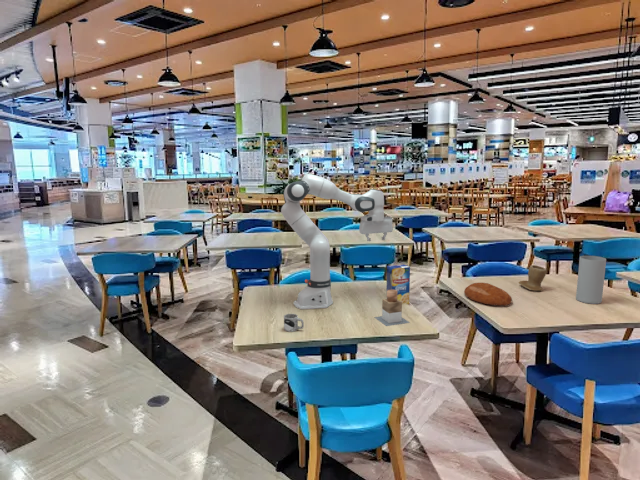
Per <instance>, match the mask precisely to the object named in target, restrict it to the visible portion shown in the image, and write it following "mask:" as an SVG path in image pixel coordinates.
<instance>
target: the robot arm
mask: <svg viewBox="0 0 640 480" xmlns="http://www.w3.org/2000/svg"><path fill="white" fill-rule="evenodd" d="M307 195H313V196H315V197H317V198H320V199H324V200H336V201H339V202H341V203H344V204H346V205H347V206H349V208H351V210H353V211H357V212H359V213H365V212H366V213H367V212H368V213H367V214H365V215H363V216H361V217H360V220H361V221H360V223H359V227H358V228H359V233H360V234H362V235H365V237H366V240H367V242H371V241H372V240H371V238H370V234H382V233H383V236H381V241H386V237H387V235H388V233H392V232H393V230H394V229H393V228H394V227H393V218H392V217H391V216H385V210H384V207H385V197H384V192H383V191H382V190H380V189H376V188H375V189H374V188H371V189H369V190H368V191H367V192H365V193H363V194H360V193H354V194H353V193H349V192H346V191H345V190H341V189H340V188H338V187H337V186H336V184H335V183H334V182H332V181H331V180H329V179H328V178H324V177H322V176H320V175H315V174H311V173H307V174H305V175H304V176H303V177H302V179H301V180H297V181H293V182H291V183H289V184H287V185H286V187H284V190H283V199H284V204H283V205H282V206H281V208H280V212H281V214H282V217H283V218H284V219H285V221H286V222H287V224H288V225H289V226H290V227H291V228H292V230H293V231H294V233H295V234H296V235H297V236H298V237H299V238H300V239H301V240H303V242H304V243H305V244H306V245H307V246H308V247H309V266H310V268H309V269H310V270H309V272H310V279H305V280H304V282H305V284H307V285H306V287H304V288H303V289H302V290H300V291H299V292H298V294H297V297H296V298H297V300H294V301H293V306H294V307H295V308H297V309H298V310H299V309H300V310H309V309H310V310H311V309H326V308H329V306H332V305H333V303H334V301H333V298H332V292H331V286H332V281H331V272H330V271H331V270H330V269H331V268H330V266H331V264H330V263H331V253H330V252H331V246H330V241H329V239H328V237H327V236H326V235H325V234H324V233H323V231H321V229H320V228H319V227H318V226H317V225H316V224H315V223H314V221H313V220H312V219H311V218H310V217H309V215H308V214H307V213H306V212H305V211H304V210H303V208H302V207H301V204H300V202H301V201H303V200H304V199H305V198H306V196H307Z"/></svg>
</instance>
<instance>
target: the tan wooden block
mask: <svg viewBox="0 0 640 480" xmlns="http://www.w3.org/2000/svg"><path fill="white" fill-rule="evenodd" d="M381 305H382V308H381V310H382V309H383V310H385V311H386V312H388V313H396V312H402V309H403V307H402V306H403V304H402V302H401V301H399V300H398V299H397V302H388V301H387V299H386V298H383V299H382V304H381ZM402 313H403V312H402Z"/></svg>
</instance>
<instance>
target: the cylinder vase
mask: <svg viewBox="0 0 640 480" xmlns="http://www.w3.org/2000/svg"><path fill="white" fill-rule="evenodd" d="M606 264H607V258H605V257H602V256H596V255H580V256H579V262H578V274H577V284H576V292H575V295H576V296H575V300H577V301H578V302H581V303H583V304H584V303H585V304H590V305H598V304H601V303H602V302H603V296H604V295H603V293H604V285H605V284H604V283H605V275H606V267H607V266H606Z"/></svg>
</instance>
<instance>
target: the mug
mask: <svg viewBox="0 0 640 480" xmlns="http://www.w3.org/2000/svg"><path fill="white" fill-rule="evenodd" d="M299 322H301V326H299ZM283 328H284V331H285V332H288V333H292V332H296V331H298V330H302V329H304V319H302V318H300V317H299V316H298V314H296V313H287V314H284V315H283Z"/></svg>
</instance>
